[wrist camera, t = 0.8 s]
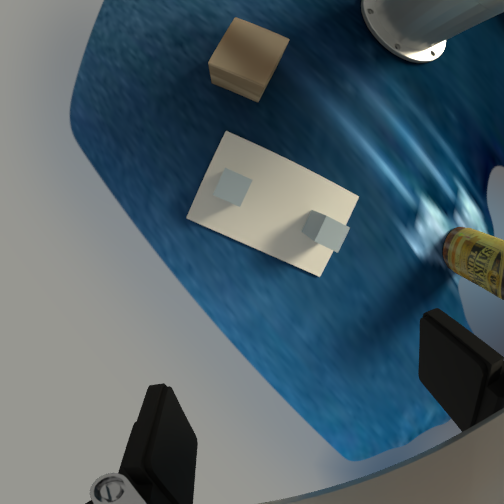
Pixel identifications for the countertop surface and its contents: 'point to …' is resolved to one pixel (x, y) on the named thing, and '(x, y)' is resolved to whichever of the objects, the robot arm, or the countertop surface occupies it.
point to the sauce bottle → (476, 258)
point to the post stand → (272, 204)
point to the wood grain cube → (246, 59)
